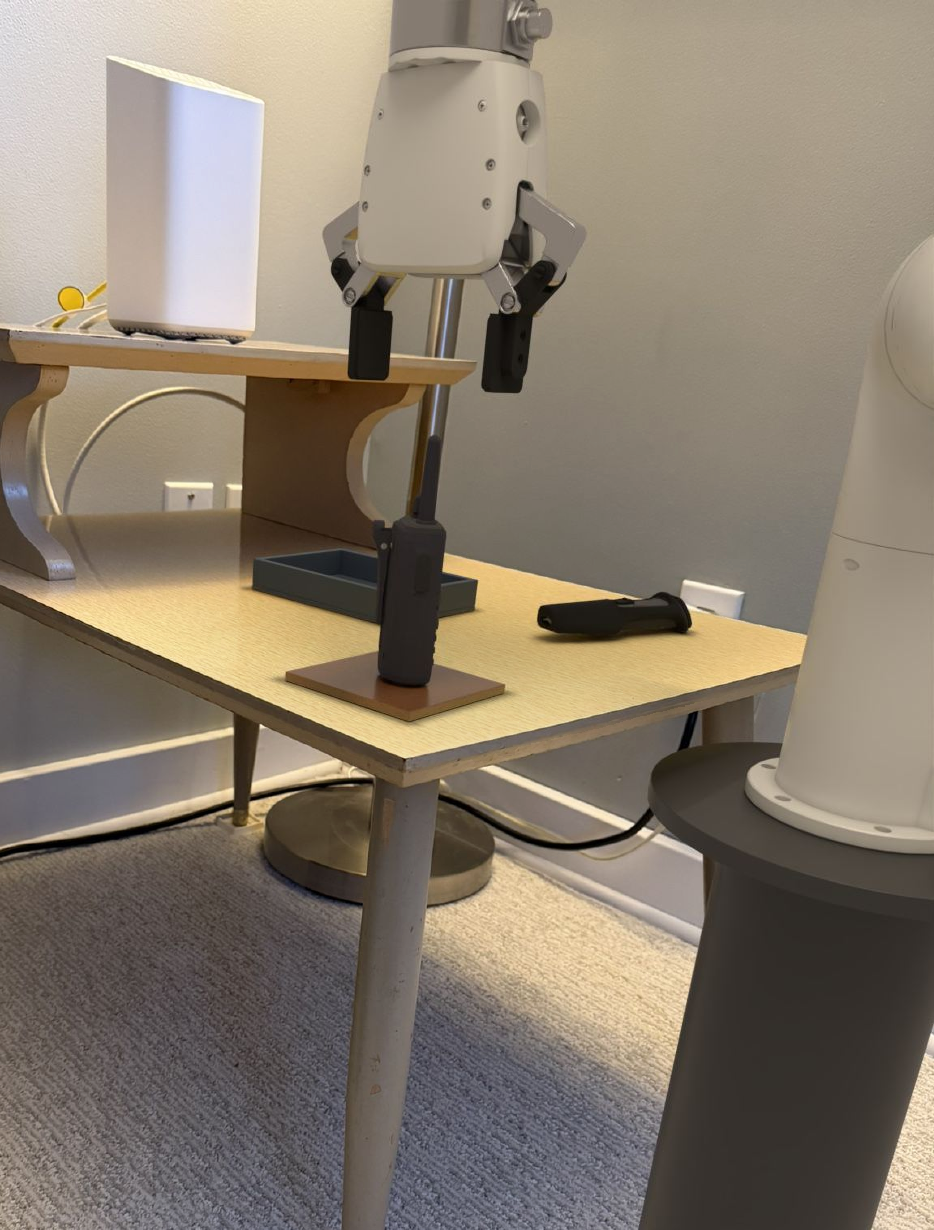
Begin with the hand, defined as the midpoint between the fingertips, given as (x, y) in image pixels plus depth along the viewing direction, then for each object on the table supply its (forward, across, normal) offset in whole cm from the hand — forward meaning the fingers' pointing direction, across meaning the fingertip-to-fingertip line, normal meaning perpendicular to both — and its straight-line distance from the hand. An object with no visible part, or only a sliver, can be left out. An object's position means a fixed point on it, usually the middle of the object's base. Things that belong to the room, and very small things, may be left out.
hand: (431, 385), depth 67 cm
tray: (+18, +19, -18) cm, 31 cm away
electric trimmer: (+19, 0, -27) cm, 33 cm away
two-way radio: (+18, +1, 0) cm, 18 cm away
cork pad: (+18, +1, 0) cm, 18 cm away
